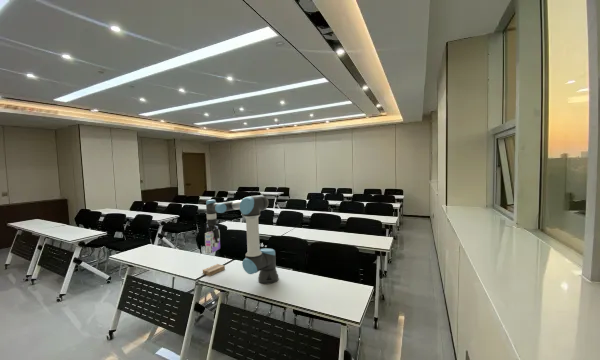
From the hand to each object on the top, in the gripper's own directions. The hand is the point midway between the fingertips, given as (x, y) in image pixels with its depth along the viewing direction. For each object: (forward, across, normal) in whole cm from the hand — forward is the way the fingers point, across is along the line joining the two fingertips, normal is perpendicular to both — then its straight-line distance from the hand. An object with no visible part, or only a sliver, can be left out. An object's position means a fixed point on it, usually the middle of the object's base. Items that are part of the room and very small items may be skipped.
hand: (212, 245), depth 207 cm
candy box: (+4, 0, 0) cm, 4 cm away
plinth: (+22, 0, 0) cm, 22 cm away
